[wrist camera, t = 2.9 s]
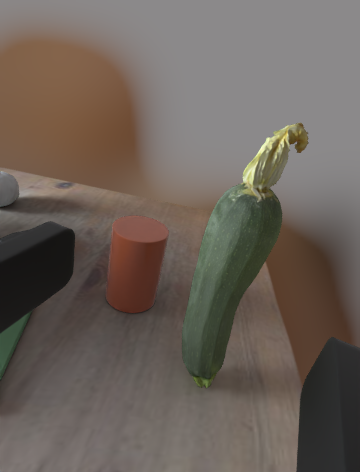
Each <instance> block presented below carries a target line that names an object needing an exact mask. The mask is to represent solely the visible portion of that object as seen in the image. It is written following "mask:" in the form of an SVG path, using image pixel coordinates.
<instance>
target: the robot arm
mask: <svg viewBox="0 0 360 472" xmlns="http://www.w3.org/2000/svg"><path fill="white" fill-rule="evenodd" d="M74 247H75V234H74V231H73V230H72V229H69V228H67V227H64V226H62V225H59V224H57V223H55V222H51V221H50V222H46V223H44V224H42V225H39V226H37V227H35V228H33V229H30V230H26V231H21V232H16V233H12V234H10V235H7V236H5V237H3V238H0V333H2V332H3V331H5V330H6V329H7V328H9V327H10V326H11V325H13V324H14V323H15V322H17V321H18V320H20V319H21V318H22V317H24V316H25V315H26V314H28V313H29V312H31V311H32V310H33V309H35V308H36V307H37V306H39V305H40V304H41V303H43V302H44V301H46V300H47V299H48V298H50V297H51V296H52V295H54V294H55V293H57V292H58V291H59V290H61V289H62V288H63V287H64V286H65V285H66V284H67V283H68V282H69V280H70V278H71V276H72V274H73V267H74ZM296 472H360V348H358V347H356V346H353V345H351V344H349V343H346V342H343V341H341V340H339V339H336V338H334V337H331V338H330V339H329V340H328V341H327V343H326V344H325V346H324V348H323V349H322V351H321V353H320V355H319V356H318V358H317V360H316V361H315V363H314V365H313V367H312V368H311V370H310V372H309V374H308V375H307V377H306V379H305V382H304V385H303V388H302V392H301V398H300V415H299V434H298V452H297V471H296Z"/></svg>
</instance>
